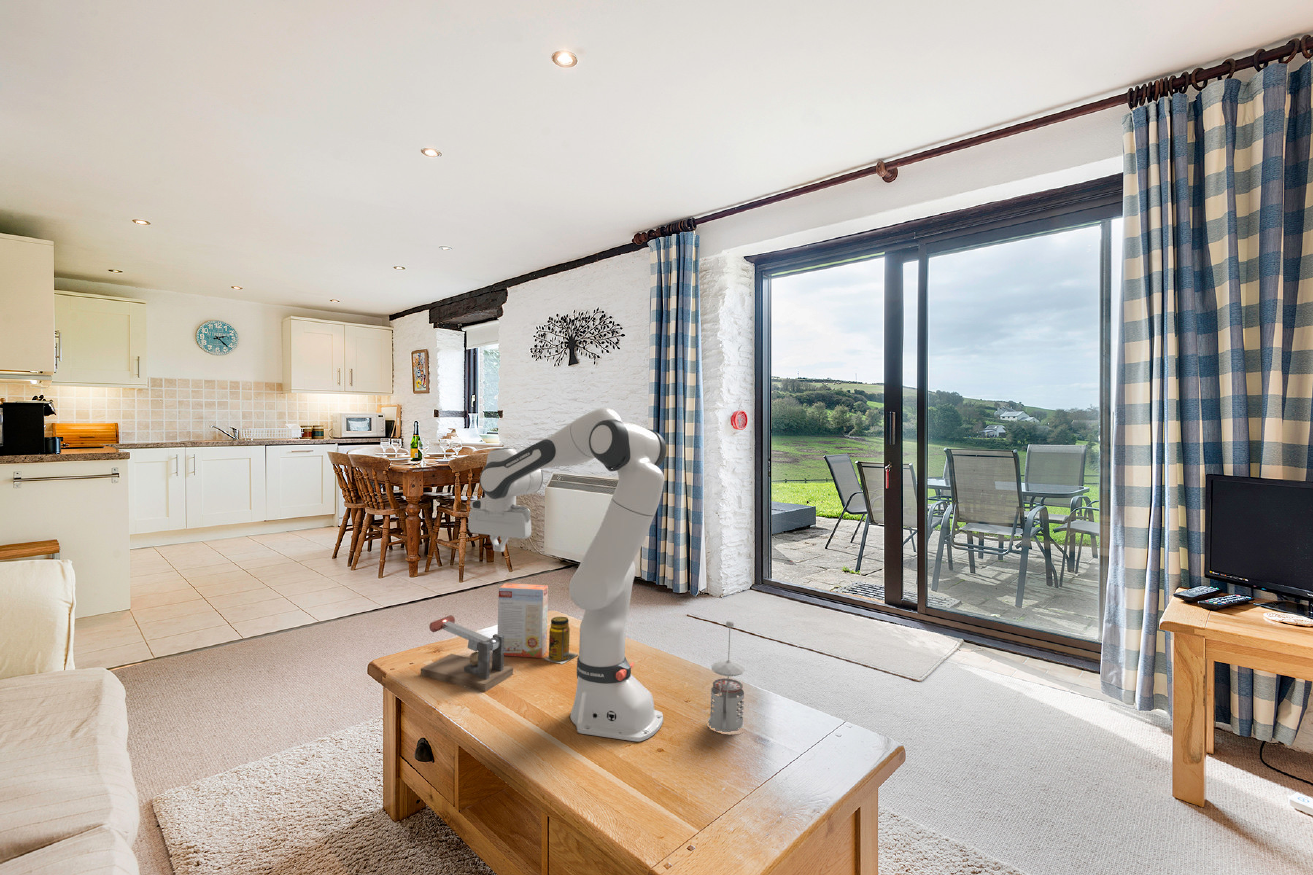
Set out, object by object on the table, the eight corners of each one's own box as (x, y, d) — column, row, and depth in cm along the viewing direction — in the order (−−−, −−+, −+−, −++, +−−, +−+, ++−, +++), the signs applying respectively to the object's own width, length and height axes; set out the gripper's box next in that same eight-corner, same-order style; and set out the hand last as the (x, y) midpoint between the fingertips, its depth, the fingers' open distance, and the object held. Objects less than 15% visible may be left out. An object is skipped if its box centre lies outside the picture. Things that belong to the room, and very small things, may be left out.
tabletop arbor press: (512, 674, 167) (514, 633, 166) (484, 691, 156) (486, 648, 155) (451, 660, 175) (452, 621, 175) (420, 675, 164) (421, 634, 164)
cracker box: (547, 651, 184) (549, 584, 184) (541, 658, 178) (543, 589, 178) (503, 648, 186) (505, 581, 186) (496, 655, 180) (498, 586, 180)
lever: (502, 651, 165) (504, 636, 165) (485, 660, 158) (488, 645, 158) (445, 627, 173) (448, 613, 172) (427, 635, 166) (430, 620, 166)
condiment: (542, 659, 178) (543, 619, 178) (559, 650, 186) (560, 612, 186) (562, 664, 175) (563, 624, 175) (578, 655, 182) (580, 616, 182)
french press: (749, 718, 146) (752, 617, 145) (743, 742, 135) (747, 632, 134) (709, 712, 148) (713, 612, 148) (700, 734, 137) (704, 627, 137)
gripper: (536, 505, 172) (535, 552, 172) (479, 499, 180) (478, 545, 180) (523, 507, 166) (522, 557, 166) (465, 501, 174) (464, 548, 174)
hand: (498, 550), depth 173 cm, fingers closed
